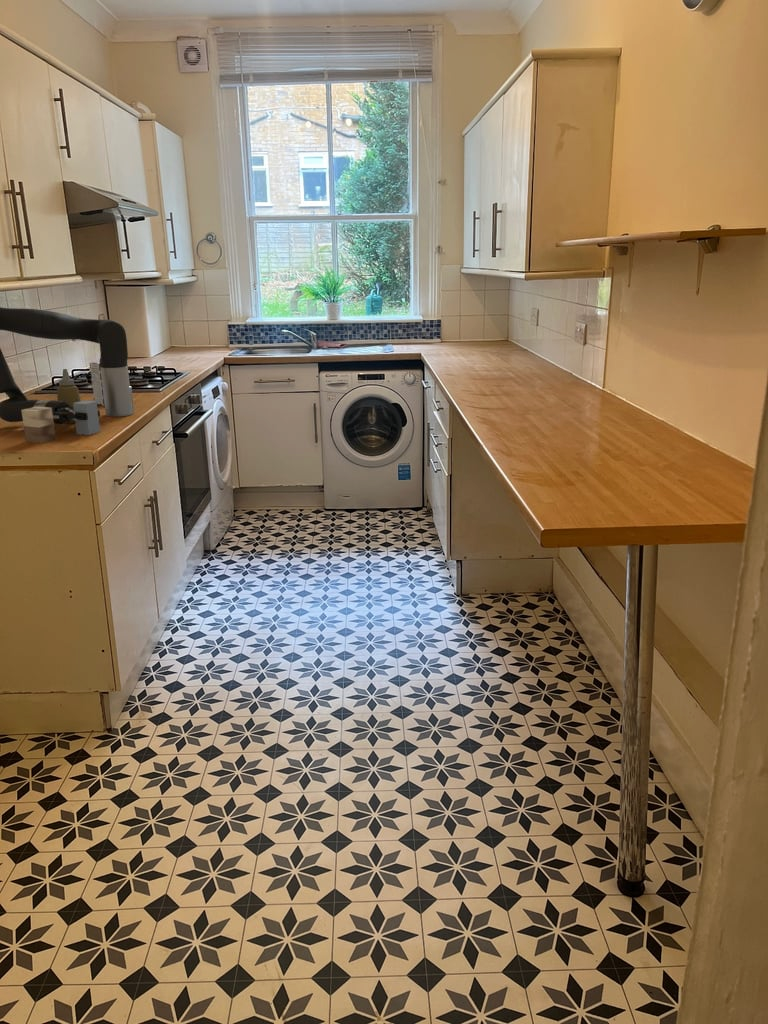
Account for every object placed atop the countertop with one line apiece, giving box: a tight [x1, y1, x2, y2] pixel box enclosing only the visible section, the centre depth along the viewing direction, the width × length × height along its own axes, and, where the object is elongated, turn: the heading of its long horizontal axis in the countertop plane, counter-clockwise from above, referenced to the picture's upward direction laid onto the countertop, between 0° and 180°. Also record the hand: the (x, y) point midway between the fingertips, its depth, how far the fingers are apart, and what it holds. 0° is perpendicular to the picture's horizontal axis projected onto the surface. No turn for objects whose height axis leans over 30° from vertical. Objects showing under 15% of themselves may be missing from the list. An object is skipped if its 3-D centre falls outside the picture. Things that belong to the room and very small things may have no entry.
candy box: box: [89, 360, 131, 407], centre depth 300 cm, size 14×6×16 cm, turn 149°
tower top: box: [21, 407, 55, 428], centre depth 236 cm, size 6×6×5 cm
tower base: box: [23, 424, 57, 445], centre depth 237 cm, size 6×6×5 cm
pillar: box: [73, 400, 101, 436], centre depth 247 cm, size 5×5×10 cm
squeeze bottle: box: [56, 368, 82, 424], centre depth 264 cm, size 8×8×18 cm
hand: (92, 415), depth 246 cm, fingers closed on pillar, 5 cm apart
